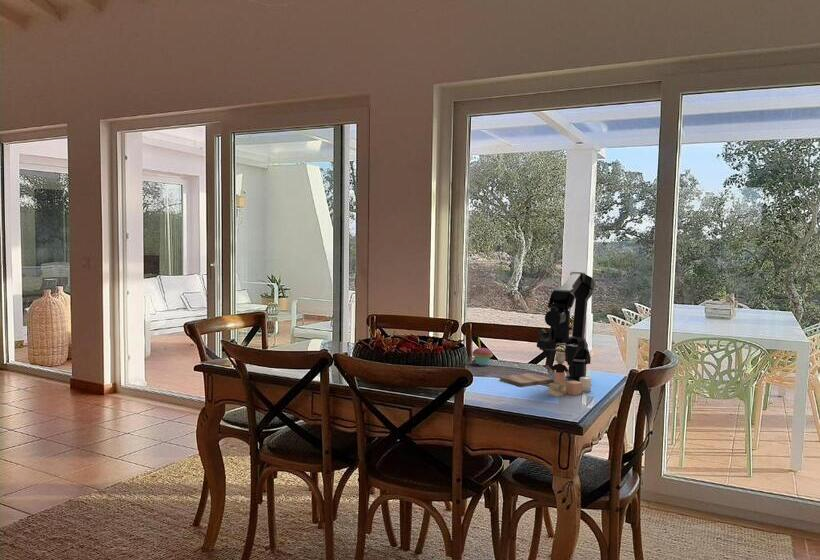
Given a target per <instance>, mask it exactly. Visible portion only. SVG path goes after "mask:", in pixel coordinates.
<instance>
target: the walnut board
mask: <svg viewBox="0 0 820 560" xmlns="http://www.w3.org/2000/svg"><path fill="white" fill-rule="evenodd" d="M499 380H500V381H502V382H505V383H509V384H512V385H516V386H518V387H521V388H522V387H528V386H536V385H542V384H549V383H554V378H551V377H547V376H543V375H540V374H537V373H534V372H533V373H532V372H527V373H521V374H511V375H505V376H500V378H499Z"/></svg>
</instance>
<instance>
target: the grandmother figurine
mask: <svg viewBox="0 0 820 560" xmlns="http://www.w3.org/2000/svg"><path fill="white" fill-rule="evenodd" d="M554 361H556V364H553V366H552V368H550V369H549V371H548V372H549V373H550V374H553V372H554V371H555V373H554V382H559V383H563V384H566V375H567V376H568V377H567V378H569V376H570V374H569V368H568V367H567V366H566V365H565V364H564V362H565V361H566V359H565V354H558V355H557V356H555V358H554ZM565 373H566V374H565Z"/></svg>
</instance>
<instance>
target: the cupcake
mask: <svg viewBox="0 0 820 560" xmlns="http://www.w3.org/2000/svg"><path fill="white" fill-rule="evenodd" d="M480 340H481V339H480V337H479V336H478V337H477V342H478V347H477V348H476V349H473V351H472V356H473V357H474V359H475V362H476V363H475V364H476V365H477V364H479V365H478V366H488V365H489V362H490V359H491V358H492V357H493V356H494V353H493V351H492V350H490V348H486V347H482V346H481V341H480Z"/></svg>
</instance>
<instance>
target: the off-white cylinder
mask: <svg viewBox="0 0 820 560" xmlns="http://www.w3.org/2000/svg"><path fill="white" fill-rule="evenodd" d="M579 382H581V383H582V392H584V393H585V392H586V393H589V392H592V377H589V376H587V377H580V380H579Z"/></svg>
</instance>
